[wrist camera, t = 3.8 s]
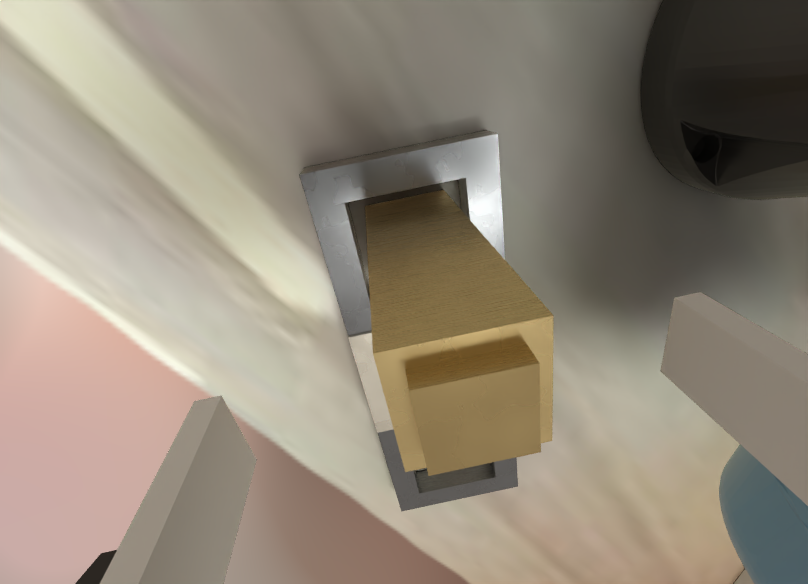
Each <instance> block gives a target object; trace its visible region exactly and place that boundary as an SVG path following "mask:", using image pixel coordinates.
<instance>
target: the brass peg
mask: <svg viewBox="0 0 808 584" xmlns="http://www.w3.org/2000/svg"><path fill="white" fill-rule="evenodd" d="M365 217H366V236H367V254H368V273H369V291H370V309H371V328H372V346H373V356H374V360H375V363H376V367H377V371H378V374H379V378H380V381H381V385H382V389H383V392H384V396H385V400H386V403H387V407H388V411H389V414H390V418H391V422H392V425H393V429H394V433H395V436H396V440H397V444H398V447H399V451H400V455H401V458H402V462H403V465H404V469H405V472H408V471H413V470H418V469H422V468H427V471H428V475H429V476H431V475H436V474H440V473H445V472H450V471H454V470H459V469H464V468H468V467H473V466H478V465H482V464H487V463H492V462H496V461H501V460H506V459H510V458H515V457H520V456H524V455H529V454H534V453H538V452H541V443H544V442H549V441H552V408H553V314H552V313H551V312H550V311H549V310H548V309H547V308H546V306H545V305H544V304H543V303H542V302H541V301H540V300H539V298H538V297H537V296H536V295H535V294H534V293H533V292H532V290H531V289H530V288H529V287H528V286H527V285H526V284H525V282H524V281H523V280H522V279H521V278H520V277H519V276H518V274H517V273H516V272H515V271H514V270H513V269H512V268H511V266H510V265H509V264H508V263H507V262H506V261H505V260H504V258H503V257H502V256H501V255H500V254H499V253H498V252H497V250H496V249H495V248H494V247H493V246H492V245H491V244H490V242H489V241H488V240H487V239H486V238H485V237H484V236H483V234H482V233H481V232H480V231H479V230H478V229H477V228H476V226H475V225H474V224H473V223H472V222H471V221H470V220H469V218H468V217H467V216H466V215H465V214H464V213H463V212H462V210H461V209H460V208H459V207H458V206H457V205H456V203H455V202H454V201H453V200H452V199H451V198H450V197H449V195H448V194H447V193H446V192H445V191H444V190H440V191H435V192H430V193H425V194H420V195H416V196H411V197H406V198H401V199H396V200H392V201H387V202H382V203H377V204H372V205H367V206H365Z"/></svg>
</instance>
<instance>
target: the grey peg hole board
mask: <svg viewBox="0 0 808 584" xmlns="http://www.w3.org/2000/svg"><path fill="white" fill-rule="evenodd" d="M299 176H300V179H301V182H302V185H303V189H304V192H305V195H306V199H307V202H308V205H309V208H310V212H311V215H312V218H313V222H314V225H315V228H316V231H317V235H318V238H319V241H320V245H321V248H322V251H323V254H324V258H325V261H326V264H327V268H328V271H329V274H330V278H331V281H332V284H333V287H334V291H335V294H336V297H337V301H338V304H339V307H340V310H341V314H342V317H343V320H344V324H345V327H346V330H347V333H348V339H349V342H350V345H351V349H352V352H353V355H354V358H355V362H356V365H357V368H358V372H359V375H360V378H361V381H362V385H363V388H364V391H365V395H366V398H367V401H368V404H369V408H370V411H371V414H372V417H373V421H374V424H375V427H376V431H377V433H378V435H379V439H380V442H381V445H382V448H383V452H384V455H385V458H386V462H387V465H388V468H389V471H390V475H391V478H392V481H393V485H394V488H395V491H396V494H397V498H398V501H399V504H400V508H401V511H405V510H410V509H415V508H419V507H424V506H429V505H433V504H438V503H443V502H447V501H452V500H457V499H461V498H466V497H471V496H475V495H480V494H485V493H489V492H494V491H499V490H503V489H508V488H513V487H517V486H518V479H517V461H516V457H515V458H510V459H506V460H501V461H496V462H492V463H487V464H482V465H478V466H473V467H468V468H464V469H459V470H454V471H450V472H445V473H440V474H436V475H431V476H429V475H428V471H427V470H424V471H419V472H416V470H413V471H408V472H405V469H404V465H403V462H402V458H401V455H400V451H399V447H398V444H397V440H396V436H395V433H394V429H393V425H392V422H391V418H390V414H389V411H388V407H387V403H386V400H385V396H384V392H383V389H382V385H381V381H380V378H379V374H378V371H377V367H376V363H375V360H374V356H373V346H372V328H371V309H370V291H369V285H368V281H367V277H366V273H365V269H364V265H363V261H362V257H361V253H360V249H359V245H358V241H357V237H356V233H355V229H354V225H353V221H352V217H351V214H350V210H349V206H348V202H351V201H356V200H361V199H365V198H370V197H375V196H380V195H385V194H389V193H394V192H399V191H404V190H409V189H414V188H418V187H423V186H428V185H433V184H438V183H443V182H447V181H452V180H457V179H458V183H459V192H460V202H461V210H462V212H463V213H464V214H465V215H466V216H467V217H468V218H469V220H470V221H471V222H472V223H473V224H474V225H475V226H476V228H477V229H478V230H479V231H480V232H481V233H482V234H483V236H484V237H485V238H486V239H487V240H488V241H489V242H490V244H491V245H492V246H493V247H494V248H495V249H496V250H497V252H498V253H499V254H500V255H501V256H502V257H503V258H504V260H505V249H504V232H503V214H502V196H501V179H500V161H499V144H498V133H494V132H491V131H487V130H484V131H479V132H474V133H470V134H465V135H460V136H455V137H450V138H445V139H440V140H436V141H431V142H426V143H421V144H416V145H411V146H407V147H402V148H397V149H392V150H387V151H382V152H377V153H373V154H368V155H363V156H358V157H353V158H348V159H344V160H339V161H334V162H329V163H324V164H319V165H314V166H310V167H305V168H304V169H303V170H302V171H301V173H300V174H299Z"/></svg>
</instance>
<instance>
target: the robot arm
mask: <svg viewBox="0 0 808 584" xmlns="http://www.w3.org/2000/svg"><path fill="white" fill-rule="evenodd" d="M641 107H642V116H643V121H644V127H645V130H646V134H647V137H648V140H649V142H650V145H651V147H652V149H653V151H654V153H655V155H656V156H657V158H658V160H659V161H660V162H661V164H662V165H663V166H664V167H665V168H666V169H667V170H668V171H669V172H670V173H671V174H672V175H673V176H674V177H676V178H677V179H679V180H680V181H682V182H684V183H686V184H687V185H690V186H692V187H695V188H698V189H702V190H705V191H709V192H712V193H716V194H719V195H723V196H727V197H732V198H739V199H749V200H763V199H778V198H794V197H808V0H663V2H662V5H661V7H660V9H659V12H658V15H657V17H656V20H655V23H654V26H653V29H652V32H651V35H650V38H649V42H648V46H647V50H646V55H645V59H644V66H643V72H642V83H641ZM661 372H662V373H663V374H664V375H665V376H666V377H667V378H668V379H670V380H671V381H672V382H673V383H674V384H675V385H676V386H677V387H678V388H679V389H680V390H682V391H683V392H684V393H685V394H686V395H687V396H688V397H689V398H690V399H691V400H693V401H694V402H695V403H696V404H697V405H698V406H699V407H700V408H701V409H702V410H703V411H705V412H706V413H707V414H708V415H709V416H710V417H711V418H712V419H713V420H714V421H715V422H717V423H718V424H719V425H720V426H721V427H722V428H723V429H724V430H725V431H726V432H727V433H729V434H730V435H731V436H732V437H733V438H734V439H735V440H736V441H737V442H738V443H740V445H739V446H738V448H737V449H736V451H735V452H734V454H733V455H732V456H731V458H730V459H729V461H728V462H727V464H726V466H725V467H724V469H723V472H722V475H721V480H720V486H719V498H720V505H721V511H722V515H723V519H724V523H725V525H726V528H727V531H728V534H729V536H730V539H731V541H732V543H733V546H734V548H735V550H736V552H737V554H738V556H739V558H740V560H741V562H742V564H743V565H744V567H745V569H746V571H747V572H748V574H749V576H750V577H751V579H752V581H753V583H754V584H808V354H807V353H805V352H803V351H801V350H800V349H798V348H796V347H794V346H793V345H791V344H789V343H788V342H786V341H784V340H782V339H781V338H779V337H777V336H775V335H774V334H772V333H770V332H769V331H767V330H765V329H763V328H762V327H760V326H758V325H756V324H755V323H753V322H751V321H750V320H748V319H746V318H744V317H743V316H741V315H739V314H737V313H736V312H734V311H732V310H731V309H729V308H727V307H725V306H724V305H722V304H720V303H719V302H717V301H715V300H713V299H712V298H710V297H708V296H706V295H705V294H703V293H701V292H698V293H693V294H688V295H684V296H679V297H675V298H674V302H673V308H672V313H671V318H670V323H669V329H668V334H667V339H666V345H665V350H664V355H663V361H662V366H661ZM256 461H257V459H256V457H255V456H254V454H253V452H252V450H251V448H250V447H249V445H248V443H247V441H246V439H245V438H244V436H243V434H242V432H241V430H240V428H239V427H238V425H237V423H236V421H235V419H234V417H233V416H232V414H231V412H230V410H229V408H228V407H227V405H226V403H225V401H224V399H223V398H222V396H217V397H212V398H208V399H203V400H199V401H194V403H193V405H192V407H191V409H190V411H189V413H188V415H187V417H186V419H185V421H184V423H183V425H182V426H181V428H180V430H179V432H178V434H177V436H176V438H175V440H174V442H173V444H172V446H171V447H170V450H169V451H168V453H167V455H166V457H165V459H164V461H163V463H162V465H161V467H160V469H159V471H158V472H157V475H156V476H155V478H154V481H153V482H152V484H151V486H150V488H149V490H148V492H147V494H146V496H145V497H144V499H143V501H142V503H141V505H140V507H139V509H138V511H137V513H136V515H135V517H134V519H133V521H132V523H131V524H130V526H129V529H128V530H127V532H126V534H125V536H124V538H123V540H122V542H121V544H120V546H119V548H118V549H117V550H114V551H110V552H105V553H102V554H100V555H99V557H98V558H97V559H96V560H95V561H94V563H93V564H92V565H91V566H90V567H89V568H88V569H87V571H86V572H85V573H84V574H83V575H82V576H81V578H80V579H79V580H78V581H77V582H76V584H224V581H225V577H226V573H227V569H228V566H229V562H230V558H231V555H232V550H233V547H234V543H235V540H236V536H237V532H238V528H239V525H240V521H241V517H242V513H243V510H244V506H245V502H246V498H247V495H248V491H249V487H250V483H251V480H252V476H253V472H254V468H255V465H256Z"/></svg>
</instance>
